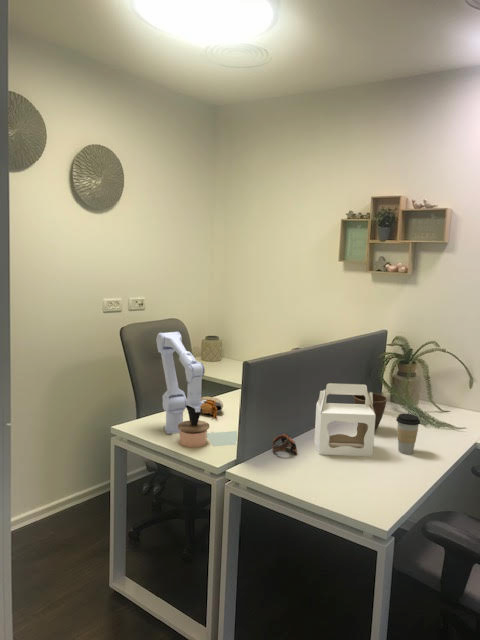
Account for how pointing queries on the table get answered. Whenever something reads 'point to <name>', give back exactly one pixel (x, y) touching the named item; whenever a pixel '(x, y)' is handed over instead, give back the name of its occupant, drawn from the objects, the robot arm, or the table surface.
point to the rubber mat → (222, 438)
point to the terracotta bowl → (193, 438)
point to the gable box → (345, 413)
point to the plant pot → (374, 405)
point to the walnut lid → (188, 427)
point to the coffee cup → (407, 432)
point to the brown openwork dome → (284, 443)
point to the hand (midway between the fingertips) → (193, 423)
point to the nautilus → (211, 406)
